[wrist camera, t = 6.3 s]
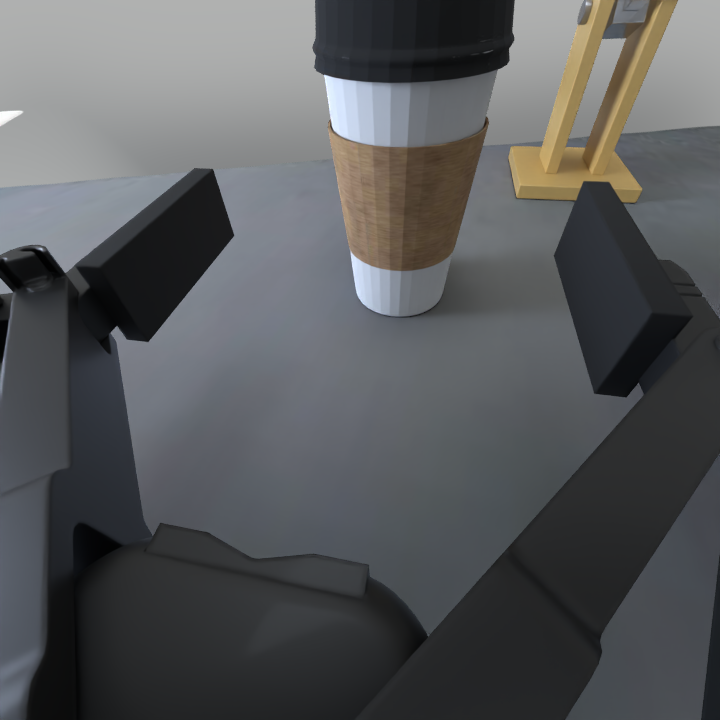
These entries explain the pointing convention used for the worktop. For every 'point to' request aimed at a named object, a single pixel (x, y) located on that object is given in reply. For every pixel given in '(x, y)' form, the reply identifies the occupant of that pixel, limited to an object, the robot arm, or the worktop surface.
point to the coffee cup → (407, 132)
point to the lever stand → (598, 159)
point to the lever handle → (625, 18)
